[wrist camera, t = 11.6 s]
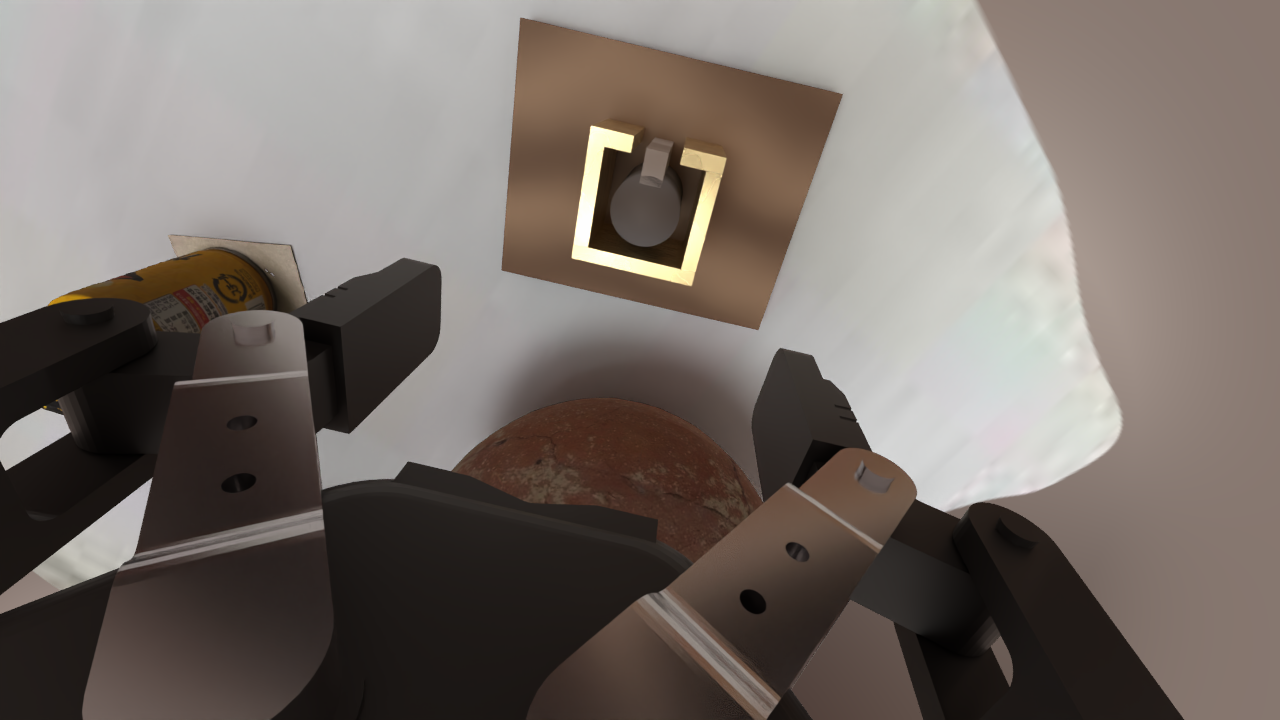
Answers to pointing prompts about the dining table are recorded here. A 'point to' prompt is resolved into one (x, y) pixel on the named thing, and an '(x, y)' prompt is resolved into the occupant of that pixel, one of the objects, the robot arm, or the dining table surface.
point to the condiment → (205, 284)
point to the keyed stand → (659, 167)
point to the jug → (620, 468)
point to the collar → (602, 238)
